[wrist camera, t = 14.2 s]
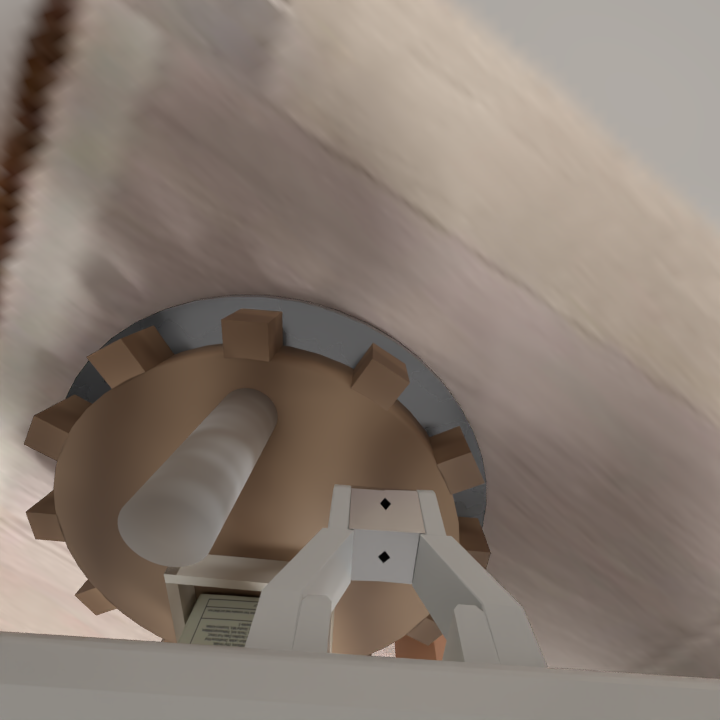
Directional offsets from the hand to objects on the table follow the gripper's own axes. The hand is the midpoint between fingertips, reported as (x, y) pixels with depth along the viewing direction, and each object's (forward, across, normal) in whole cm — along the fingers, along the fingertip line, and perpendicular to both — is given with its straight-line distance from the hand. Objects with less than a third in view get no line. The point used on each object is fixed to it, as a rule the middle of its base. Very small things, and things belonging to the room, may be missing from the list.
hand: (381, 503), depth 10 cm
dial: (+7, +6, +7) cm, 12 cm away
